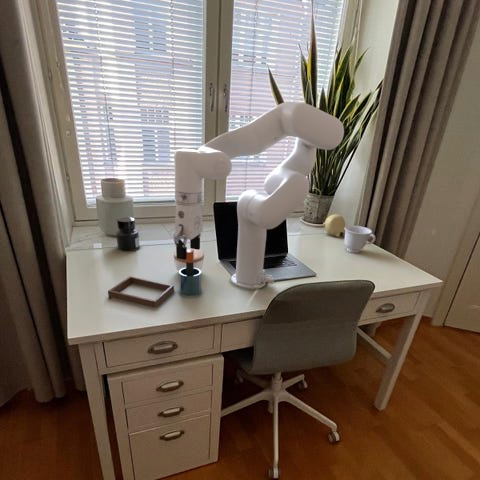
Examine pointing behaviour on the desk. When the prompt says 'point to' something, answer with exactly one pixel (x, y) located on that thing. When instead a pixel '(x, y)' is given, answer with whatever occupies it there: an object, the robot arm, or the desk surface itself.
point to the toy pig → (335, 225)
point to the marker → (190, 263)
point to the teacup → (357, 238)
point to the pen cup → (190, 282)
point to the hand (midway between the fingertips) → (188, 253)
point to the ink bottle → (127, 234)
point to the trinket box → (197, 260)
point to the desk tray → (139, 300)
